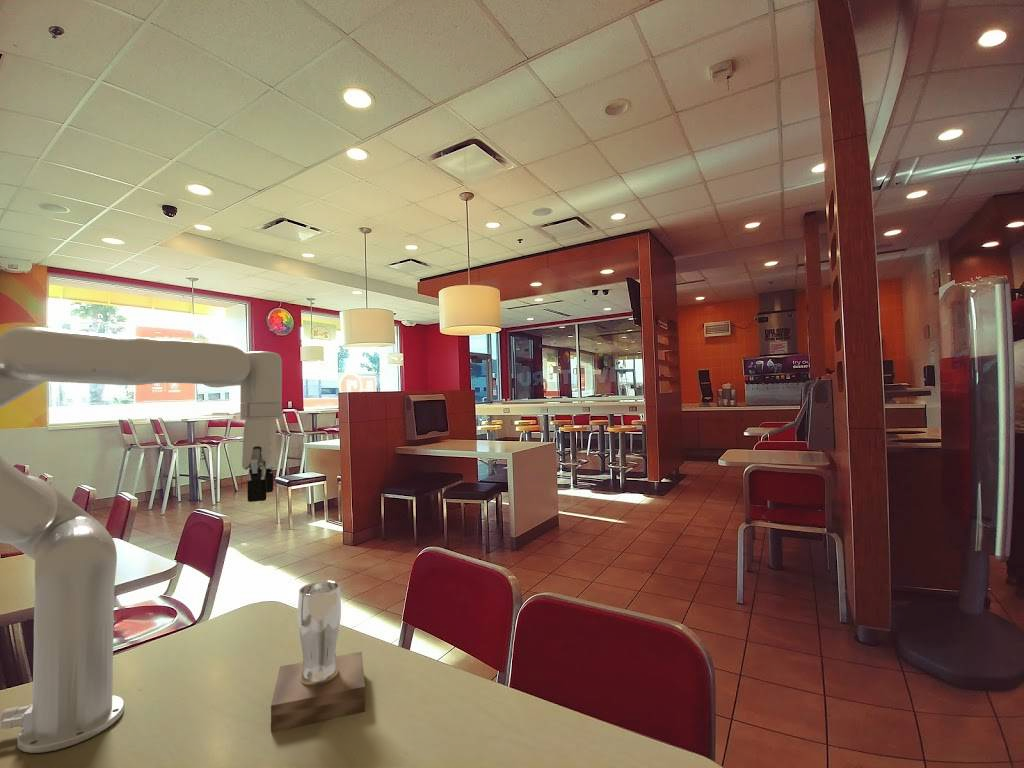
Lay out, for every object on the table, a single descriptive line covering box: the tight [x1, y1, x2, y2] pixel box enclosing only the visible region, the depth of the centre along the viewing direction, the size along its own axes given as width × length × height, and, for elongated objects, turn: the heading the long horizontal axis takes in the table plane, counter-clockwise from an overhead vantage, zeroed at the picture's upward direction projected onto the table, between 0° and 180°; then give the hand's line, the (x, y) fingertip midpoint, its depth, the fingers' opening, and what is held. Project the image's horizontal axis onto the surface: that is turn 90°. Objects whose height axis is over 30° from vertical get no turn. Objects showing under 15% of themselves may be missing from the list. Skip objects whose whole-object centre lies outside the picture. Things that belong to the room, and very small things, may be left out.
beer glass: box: [297, 580, 342, 686], centre depth 83 cm, size 7×7×15 cm
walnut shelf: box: [270, 651, 366, 733], centre depth 83 cm, size 14×12×4 cm
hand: (261, 496), depth 98 cm, fingers open, 9 cm apart
